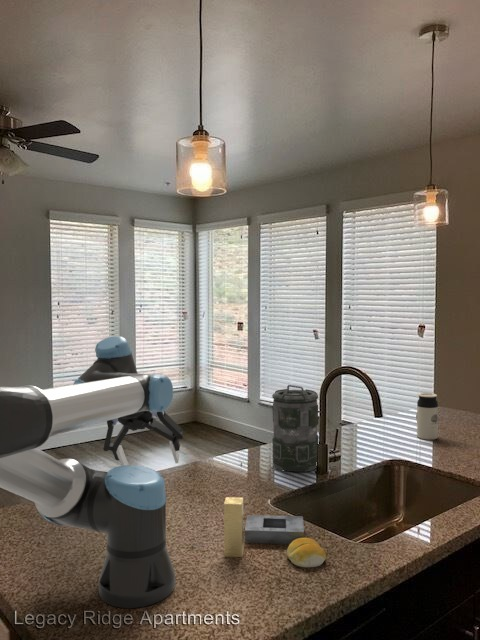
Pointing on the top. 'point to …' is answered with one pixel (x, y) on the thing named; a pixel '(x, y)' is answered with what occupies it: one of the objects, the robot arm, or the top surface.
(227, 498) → the brass peg
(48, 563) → the top surface
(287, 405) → the canister
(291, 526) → the grey slotted block
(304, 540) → the bread roll
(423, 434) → the travel mug
